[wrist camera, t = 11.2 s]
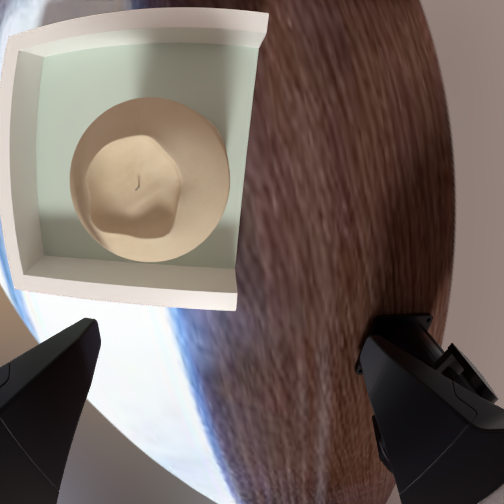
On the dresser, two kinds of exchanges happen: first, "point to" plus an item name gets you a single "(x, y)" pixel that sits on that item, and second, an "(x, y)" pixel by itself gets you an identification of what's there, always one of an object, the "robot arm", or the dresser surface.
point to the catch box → (93, 105)
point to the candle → (150, 179)
